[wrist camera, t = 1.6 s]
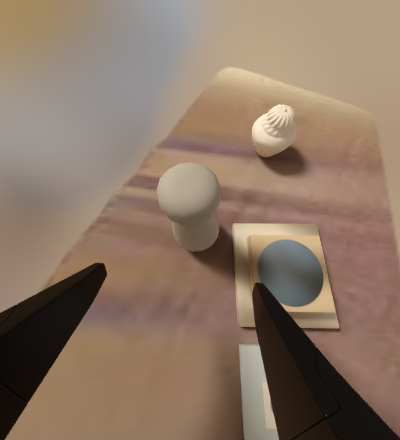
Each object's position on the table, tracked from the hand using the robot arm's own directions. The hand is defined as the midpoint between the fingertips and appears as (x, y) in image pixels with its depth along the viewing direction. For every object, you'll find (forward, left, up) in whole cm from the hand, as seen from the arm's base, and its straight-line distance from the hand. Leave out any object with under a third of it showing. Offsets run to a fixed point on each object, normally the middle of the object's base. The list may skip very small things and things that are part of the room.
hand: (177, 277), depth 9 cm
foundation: (0, -11, -12) cm, 16 cm away
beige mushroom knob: (+5, -1, -12) cm, 13 cm away
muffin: (+19, -12, -12) cm, 25 cm away
